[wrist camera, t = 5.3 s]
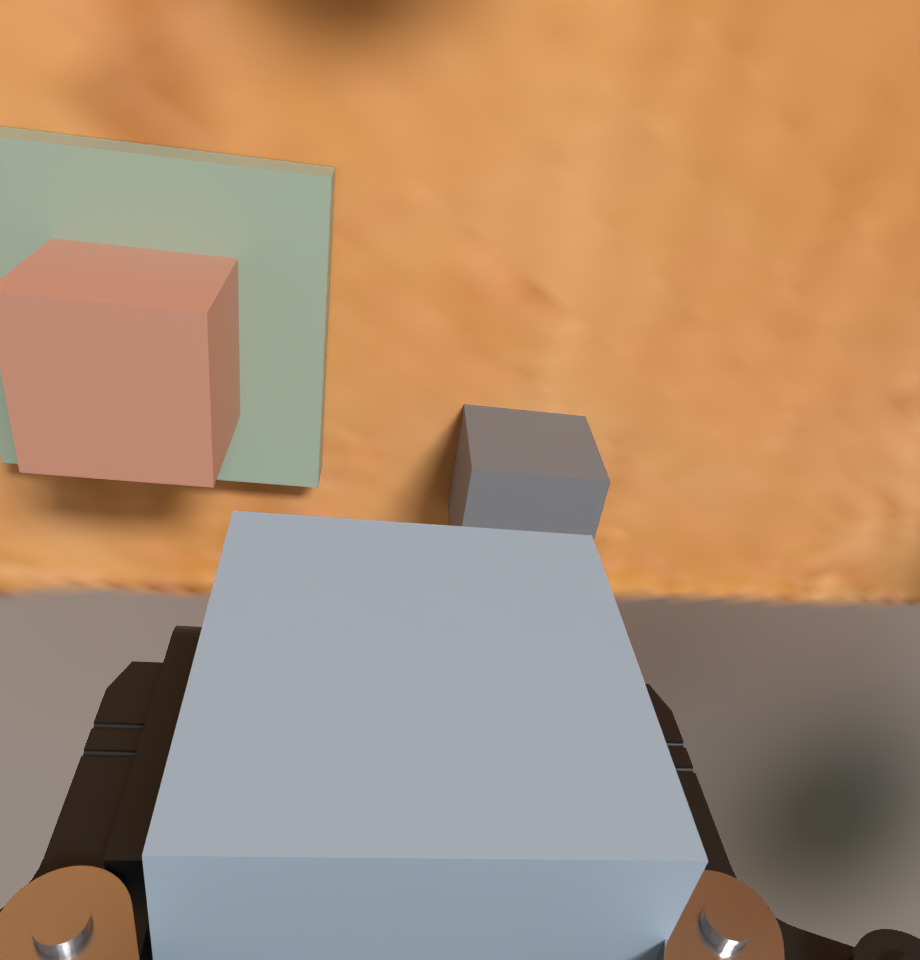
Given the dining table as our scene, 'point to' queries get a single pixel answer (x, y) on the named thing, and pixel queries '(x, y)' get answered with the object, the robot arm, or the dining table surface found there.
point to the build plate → (208, 231)
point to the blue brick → (415, 756)
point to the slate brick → (527, 472)
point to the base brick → (121, 362)
